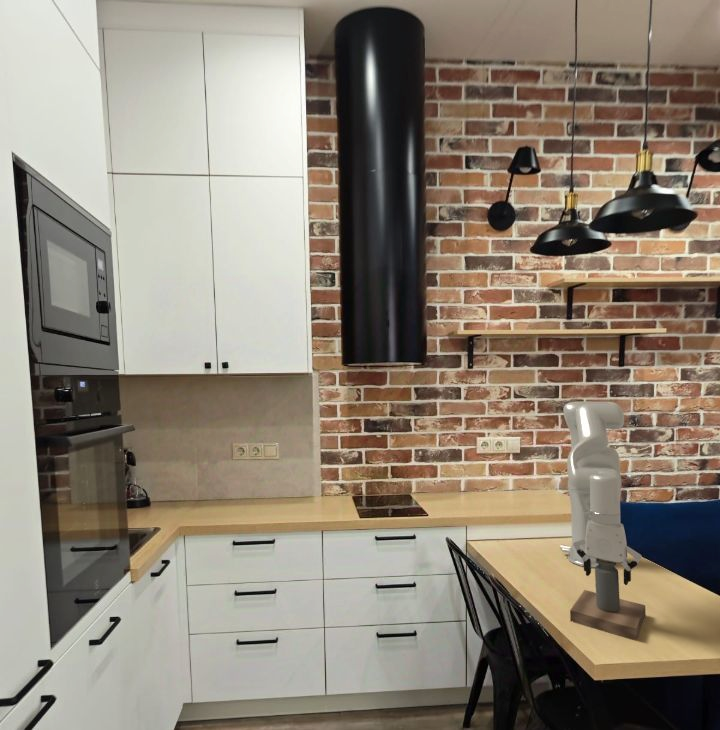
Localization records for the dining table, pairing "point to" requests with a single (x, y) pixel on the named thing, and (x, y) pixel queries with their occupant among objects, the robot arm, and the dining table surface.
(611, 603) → the bottle
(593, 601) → the base
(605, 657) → the dining table surface
